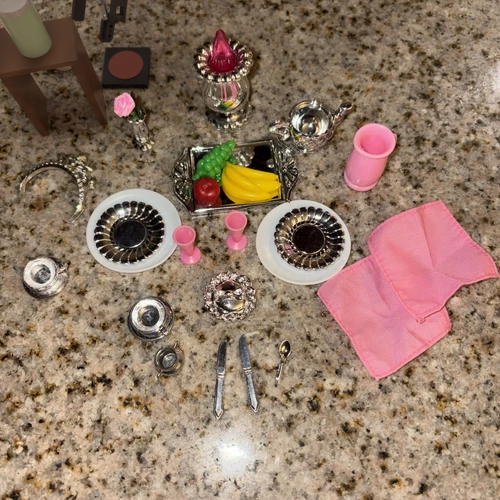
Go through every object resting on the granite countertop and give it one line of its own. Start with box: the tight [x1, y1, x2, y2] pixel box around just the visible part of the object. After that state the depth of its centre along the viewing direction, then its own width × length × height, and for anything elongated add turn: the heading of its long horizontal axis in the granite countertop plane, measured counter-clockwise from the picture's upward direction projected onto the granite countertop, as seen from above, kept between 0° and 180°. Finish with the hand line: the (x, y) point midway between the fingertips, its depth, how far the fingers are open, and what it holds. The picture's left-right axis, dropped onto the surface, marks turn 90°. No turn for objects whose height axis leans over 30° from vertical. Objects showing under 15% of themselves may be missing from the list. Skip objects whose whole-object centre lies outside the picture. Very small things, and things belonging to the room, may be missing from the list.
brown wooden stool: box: [0, 16, 109, 138], centre depth 97 cm, size 14×10×20 cm
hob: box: [100, 46, 152, 89], centre depth 109 cm, size 10×10×2 cm
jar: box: [0, 0, 52, 58], centre depth 82 cm, size 6×6×10 cm
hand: (91, 30), depth 86 cm, fingers open, 8 cm apart
